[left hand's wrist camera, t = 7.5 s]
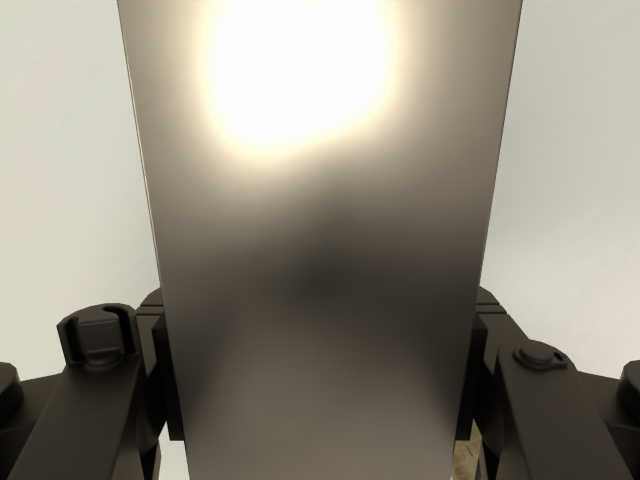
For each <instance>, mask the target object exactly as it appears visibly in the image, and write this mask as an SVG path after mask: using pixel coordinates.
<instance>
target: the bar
mask: <svg viewBox="0 0 640 480" xmlns="http://www.w3.org/2000/svg"><path fill="white" fill-rule="evenodd" d="M522 2H523V0H117V4H118V11H119V17H120V24H121V31H122V37H123V44H124V50H125V57H126V63H127V70H128V77H129V83H130V90H131V96H132V103H133V109H134V116H135V123H136V129H137V136H138V142H139V149H140V155H141V162H142V168H143V175H144V182H145V188H146V195H147V201H148V208H149V214H150V221H151V228H152V234H153V241H154V247H155V254H156V260H157V267H158V274H159V280H160V287H161V293H162V300H163V306H164V313H165V320H166V326H167V333H168V339H169V346H170V352H171V359H172V366H173V372H174V379H175V385H176V392H177V398H178V405H179V411H180V418H181V425H182V431H183V438H184V444H185V451H186V457H187V464H188V471H189V477H190V480H450V475H451V469H452V462H453V456H454V449H455V442H456V436H457V429H458V423H459V416H460V409H461V403H462V396H463V390H464V383H465V377H466V370H467V363H468V357H469V350H470V344H471V337H472V331H473V324H474V317H475V311H476V304H477V298H478V291H479V285H480V278H481V271H482V265H483V258H484V252H485V245H486V238H487V232H488V225H489V219H490V212H491V206H492V199H493V192H494V186H495V179H496V173H497V166H498V160H499V153H500V146H501V140H502V133H503V127H504V120H505V114H506V107H507V100H508V94H509V87H510V81H511V74H512V67H513V61H514V54H515V48H516V41H517V35H518V28H519V21H520V15H521V8H522Z"/></svg>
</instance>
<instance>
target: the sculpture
mask: <svg viewBox="0 0 640 480" xmlns="http://www.w3.org/2000/svg"><path fill="white" fill-rule="evenodd" d="M481 439H482V436H481V434H480V432H479V430H478V427H477V425H476V423H475V421H474V419H473V425H472V431H471V437H470V441H456V442H455V449H454V456H453V462H452V469H451V475H452V478H453V480H474V479H475V472H476V467H477V461H478V456H479V450H480V445H481ZM481 480H482V477H481Z"/></svg>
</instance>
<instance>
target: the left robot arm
mask: <svg viewBox="0 0 640 480" xmlns="http://www.w3.org/2000/svg"><path fill="white" fill-rule="evenodd" d="M56 327H57V330H58V334H59V338H60V342H61V346H62V350H63V353H64V357H65V361H66V366H65V368H64V370H63V372H62V373H59V374H55V375H51V376H46V377H41V378H35V379H30V380H25V381H20V379H19V376H18V372H17V369H16V368H15V367H14V366H13V365H11V364H10V363H4V362H0V480H158V478H159V470H160V463H161V451H160V445H159V439H158V438H159V436H160V433H161V431H162V429H163V427H164V425H165V422H166V421H167V427H168V432H169V438H170V441H184V438H183V431H182V425H181V418H180V411H179V405H178V398H177V392H176V385H175V379H174V372H173V366H172V359H171V352H170V346H169V339H168V333H167V326H166V320H165V313H164V306H163V300H162V293H161V287H160V288H158V289H157V290H155V291H153V292H152V293H150V294H149V295H148V296H147V297H146V298H145V300H144V301H143V302H142V303H141V304H140V307H138V308H137V309H136V311H135V309H133V308H132V307H131V306H129V305H125V304H120V303H105V304H100V305H95V306H90V307H87V308H84V309H81V310H79V311H76V312H74V313H72V314H70V315H69V316H67V317H65V318H64V319H63V320H62V321H61V322H60V323H59V324H58V325H57V326H56ZM473 419H474V421H475V423H476V425H477V427H478V430H479V432H480V434H481V436H482V439H481V445H480V450H479V456H478V461H477V467H476V472H475V479H474V480H481V477H482V480H640V360H636V361H630V362H629V363H627V364H626V365H625V366H624V368H623V371H622V374H621V378H620V380H619V379H614V378H609V377H604V376H599V375H594V374H589V373H584V372H580V371H577V369H576V367H575V365H574V364H573V362H572V361H571V360H570V359H569V358H568V356H567V355H565V354H564V353H562V352H561V351H559V350H558V349H556V348H555V347H552V346H550V345H548V344H545V343H543V342H539V341H535V340H530V339H529V338H528V337H527V336H526V335H525V333H524V332H523V331H522V330H521V329H520V327H519V326H518V325H517V324H516V323H515V321H514V320H513V319H512V318H511V316H510V315H509V314H507V312H506V310H505V309H504V308H503V307H502V305H500V303H499V302H498V301H497V299H496V298H495V297H494V296H493V295H492V293H491V292H489V291H487V290H486V289H484V288H482V287H481V286H479V291H478V298H477V304H476V311H475V317H474V324H473V331H472V337H471V344H470V350H469V357H468V363H467V370H466V377H465V383H464V390H463V396H462V403H461V409H460V416H459V423H458V429H457V436H456V441H470V437H471V431H472V425H473Z"/></svg>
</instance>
